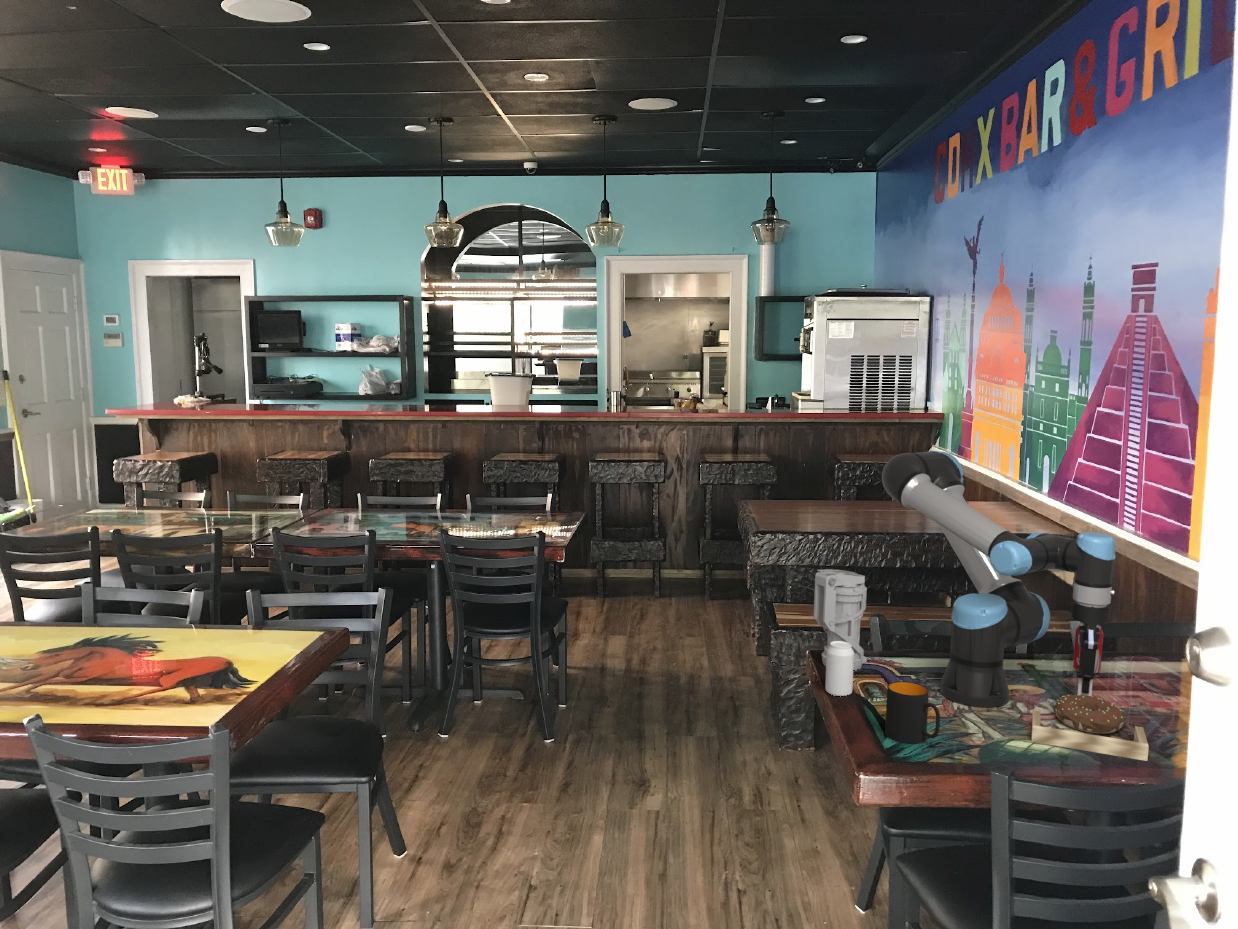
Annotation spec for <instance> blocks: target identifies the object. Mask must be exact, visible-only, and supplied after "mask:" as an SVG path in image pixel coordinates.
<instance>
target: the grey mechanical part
mask: <svg viewBox="0 0 1238 929" xmlns="http://www.w3.org/2000/svg"><path fill="white" fill-rule="evenodd" d="M865 581H866V576H865V575H862V574H858V573H857V572H854V571H849V570H842V569H833V568H831V569H829V568H828V569H817V572H816V573H815V578H814V595H813V596H814V600H813V618H814V619H815V621H816V622H817V624H818V625H819V627H822V628H823V631H824V632H825V633H826V635H827V638H826V639H827V640H826V642H827V643H826V644H825V646H823V647H824V649H823V650H824V651H822V653H821V660H822V664H823V665H824V667H826V659H827V649H828V648H829V646H830V643H831V642H833V641H843V642H848V643H850V644H851V645H852V649H853V651H854V668H853V670H855V671H858V670H857V669H859V670H860V669H861V668H862V667H863V664H865V663H867V661H868V658H867V657H866V656H864V654H865V649H864V648H862V646H861V645H860V636H861V635H860V632H861V618H862V617H863V616H864V612H865V610H866V608H867V596H868V595H867V590H868V588H867V586H865Z"/></svg>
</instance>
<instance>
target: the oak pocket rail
mask: <svg viewBox="0 0 1238 929" xmlns="http://www.w3.org/2000/svg"><path fill="white" fill-rule="evenodd" d="M1144 729H1145V728H1144V727H1143V726H1136V725H1134V731H1133V732H1134V733H1133V734H1134V735H1133V740H1128V739H1121V738H1115V737H1108V736H1103V735H1102V736H1101V735H1097V734H1095V735H1094V734H1092V733H1083V732H1079V731H1071V730H1066V729H1065V730H1064V729H1059V728H1053V727H1048V726H1041V710H1035V709H1033V710H1032V716H1031V742H1032V743H1033V742H1034V743H1038V744H1044V745H1045V744H1046V745H1051V746H1057V747H1060V748H1066V749H1067V748H1068V749H1073V750H1074V749H1075V750H1079V751H1086V752H1091V753H1098V754H1103V755H1111V756H1116V757H1120V758H1121V757H1122V758H1128V759H1132V760H1138V761H1139V760H1140V761H1145V762H1148V759H1149V758H1148V757H1149V746H1150V745H1149V743H1148V739H1147V736H1146V733H1145V730H1144Z"/></svg>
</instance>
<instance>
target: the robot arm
mask: <svg viewBox="0 0 1238 929" xmlns="http://www.w3.org/2000/svg"><path fill="white" fill-rule="evenodd" d="M964 474H965V473H964V469H963V467H962V464H961V463H960V461H959V460H958V459H957V458H956V456H954V455H952V454H951V453H948V452H945V451H938V450H927V451H923V452H904V453H898V454H896V455H894V456H892V457H891V458H890V459H889V460H888V461H887V462H886V463H885V464H884V466H883V469H882V472H881V482H882V486H883V488H884V490H885V491H886V493H887V494H888V495H889V497H890V498H892V499H893V501H895V502H897V503H899V504H900V505H902V506H903V507H905V508H906V509H915V510H917V511H918V512H920V513H921V514H922V515H924V516H925V517H927V518H929V519H930V520H932V521H933V522H935V523H936V524H938V525H939V527H940V529H941V531H942V532H943V534H944V536H945V537H946V540H947V541H948V543H949V544H950V546H951V548H952V549H953V551H954V553H955V554H956V556H957V558H958V560H959V561H960V563H961V565H962V566H963V568H964V570H965V572H966V573H967V575H968V577H969V578H970V580H971V582H972V583H973V586H974V588H975V589H976V591H977V592H978V593H975V592H974V593H972V592H971V593H967V594H964V595H961V596H959V597H957V599H956V600H954V602H953V605H952V612H951V628H950V629H951V631H950V632H951V633H950V650H949V661H948V663H947V666H946V667H945V671H944V672H943V675H942V677H941V679H940V685H939V693H940V694H941V696H943V697H944V698H946V699H948V700H950V701H952V702H954V703H959V704H961V705H966V706H971V707H979V708H995V707H1002V706H1004V705H1007V704H1008V702H1009V700H1010V690H1009V689H1010V688H1009V684H1008V681H1007V677H1006V674H1005V671H1004V653H1005V649H1007V648H1011V647H1015V646H1019V645H1026V644H1027V645H1028V644H1031V643H1032V642H1035V641H1037V640H1039V639H1040V638H1042V637H1043V636H1044V635H1046V633H1047V631H1048V630H1049V627H1050V626H1049V625H1050V622H1051V612H1050V609H1049V606H1048V603H1047V602H1046V601H1045V599H1043V597H1042V596H1040V595H1039V594H1037V593H1035V592H1032V591H1028V589H1027V588H1026V586H1025V584H1024V583H1023V581H1022V579H1018V578H1014V577H1013V576H1021V575H1024V574H1025V575H1026V574H1030V573H1034V572H1041V571H1045V570H1046V571H1047V570H1052V569H1053V570H1054V569H1055V570H1058V571H1059V570H1060V571H1063V572H1069V573H1074V581H1073V591H1072V599H1073V600H1074V601H1073V602H1072V607H1071V617H1072V618H1073V620H1076V621H1078V622H1080V623H1083V626H1079V625H1078V626H1079V633H1080V639H1079V643H1080V660H1079V669H1080V670H1079V672H1078V673H1076V674H1075V676H1076V678H1077V679H1078V682H1077V683H1078V684H1077V694H1076V695H1081V694H1083V695H1087V696H1093V695H1092V694H1093V693H1092V692H1093V683H1094V682H1093V680H1094V679H1095V677H1096V674H1095V673H1094V669H1095V659H1096V650H1097V649H1098V639H1099V638H1100V631H1099V628H1097V625H1105V624H1108V623H1109V622H1110V618H1111V606H1110V604H1111V603H1112V602H1111V601H1112V595H1115V593H1116V591H1115V590H1114V589H1113V576H1114V567H1115V559H1116V541H1115V538H1114V537H1113V536H1111V535H1110V534H1106V533H1102V532H1091V531H1089V532H1085V531H1084V532H1081V533H1079V534H1078V535H1077V539H1076V538H1070V537H1065V536H1060V535H1056V534H1052V533H1050V532H1049V533H1048V532H1045V533H1044V532H1038V531H1037V532H1032V533H1030V534H1029V536H1027V537H1026V538H1021V537H1019V536H1017V535H1016V534H1014V533H1013V532H1011V531H1009V529H1006V528H1005V527H1003V526H1002V525H1000V524H999V523H997V522H995V521H993V520H992V519H990V518H989V517H987V516H986V515H984V514H982V512H979V511H978V510H976V509H975V508H973V507H971V506H970V505H968V503H967V501H966V500H965V498H964V496H963V495H964V492H965V489H966V488H965V486H964V484H963V483H964V478H963V475H964Z"/></svg>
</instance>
